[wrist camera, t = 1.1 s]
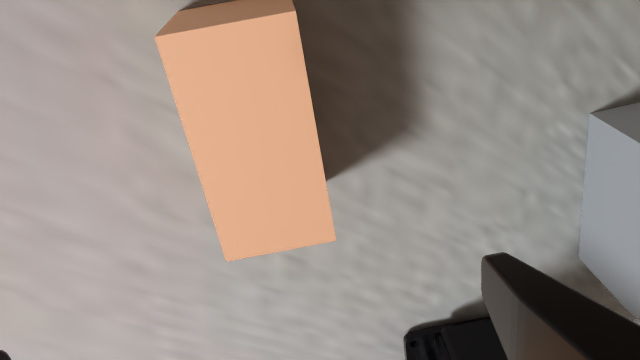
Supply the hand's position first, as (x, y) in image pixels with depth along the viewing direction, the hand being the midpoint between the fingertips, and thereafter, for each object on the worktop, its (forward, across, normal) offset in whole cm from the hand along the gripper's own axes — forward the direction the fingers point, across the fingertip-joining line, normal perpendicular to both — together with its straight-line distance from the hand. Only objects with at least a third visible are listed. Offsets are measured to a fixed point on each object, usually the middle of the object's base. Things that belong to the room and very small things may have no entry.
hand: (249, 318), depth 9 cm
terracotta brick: (+12, 0, 0) cm, 12 cm away
